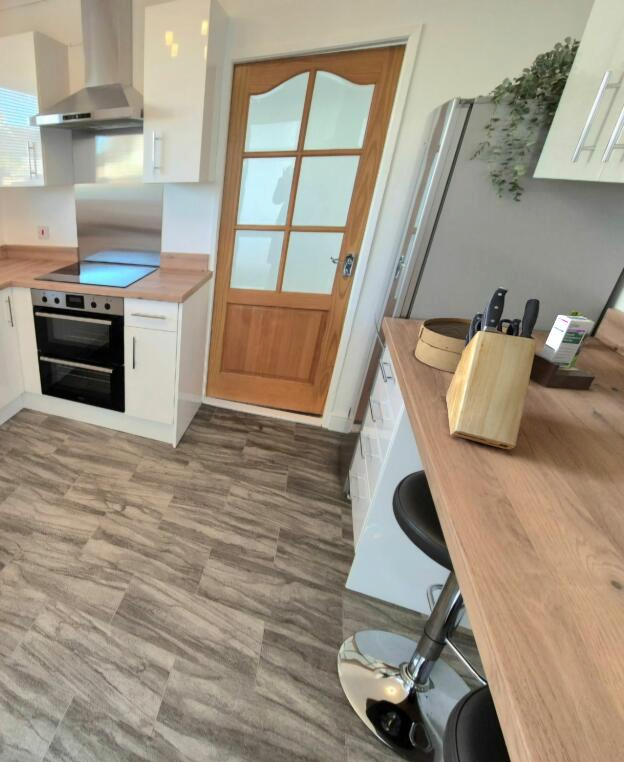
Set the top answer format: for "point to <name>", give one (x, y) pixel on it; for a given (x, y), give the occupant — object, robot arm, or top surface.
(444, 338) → the steamer basket
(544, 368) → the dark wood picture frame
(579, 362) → the top surface
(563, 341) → the syrup box
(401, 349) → the top surface
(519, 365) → the knife block
